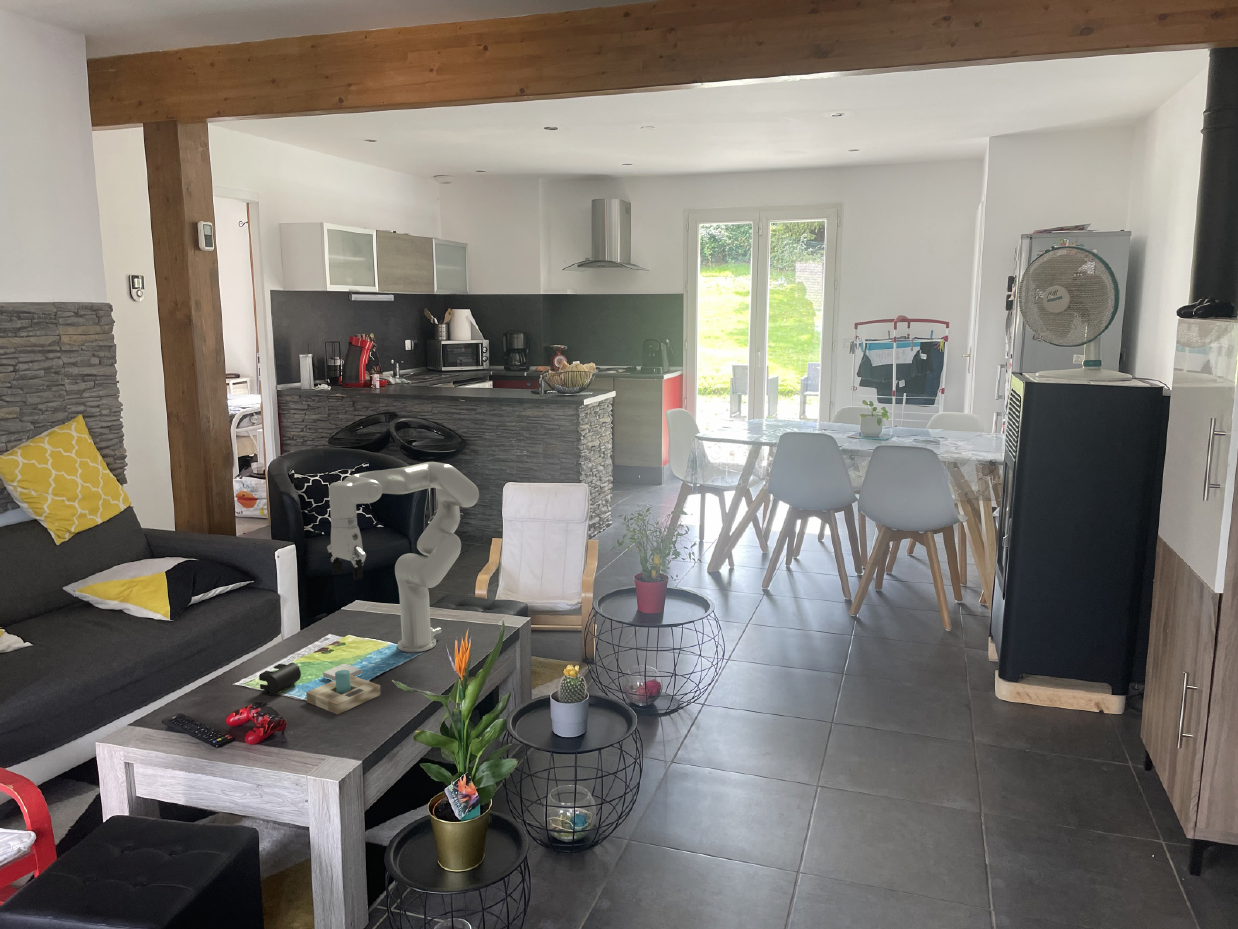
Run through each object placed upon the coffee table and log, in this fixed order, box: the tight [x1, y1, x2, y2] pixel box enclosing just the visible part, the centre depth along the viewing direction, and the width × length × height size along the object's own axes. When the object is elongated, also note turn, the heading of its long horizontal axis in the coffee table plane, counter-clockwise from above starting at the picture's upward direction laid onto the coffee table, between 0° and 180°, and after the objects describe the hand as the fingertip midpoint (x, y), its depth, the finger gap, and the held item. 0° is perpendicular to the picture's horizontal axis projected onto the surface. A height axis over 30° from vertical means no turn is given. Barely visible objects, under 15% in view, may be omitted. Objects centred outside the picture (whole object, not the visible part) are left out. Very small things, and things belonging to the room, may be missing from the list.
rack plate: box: [305, 675, 381, 715], centre depth 253 cm, size 15×14×3 cm
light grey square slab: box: [322, 663, 363, 680], centre depth 268 cm, size 8×8×2 cm
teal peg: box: [335, 670, 351, 695], centre depth 253 cm, size 4×4×8 cm
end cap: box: [258, 662, 302, 697], centre depth 260 cm, size 10×7×7 cm
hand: (348, 576), depth 269 cm, fingers open, 9 cm apart
